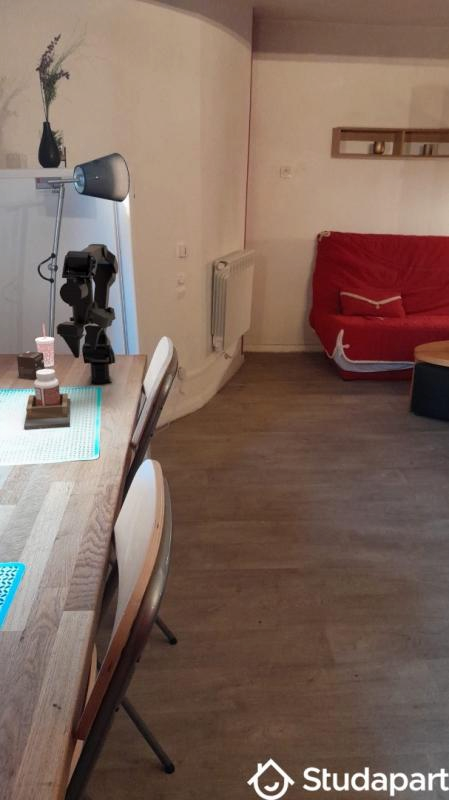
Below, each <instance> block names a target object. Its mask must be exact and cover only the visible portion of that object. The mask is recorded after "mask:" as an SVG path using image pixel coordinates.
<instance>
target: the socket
mask: <svg viewBox="0 0 449 800" xmlns="http://www.w3.org/2000/svg"><path fill="white" fill-rule="evenodd" d="M68 395H69V393H67V392H66V393H60V403H61V405H55V406H36V397H35V394H33V395H31V394H29V395H28V400H27V403H26V409H25V410H26V414H25V419H24V425H23V430H24V429H25V430H24V431H26V430H39V428H42V429H55V428H67V427H68V428H70V427H71V398H69V396H68Z"/></svg>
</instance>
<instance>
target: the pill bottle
mask: <svg viewBox="0 0 449 800" xmlns="http://www.w3.org/2000/svg"><path fill="white" fill-rule="evenodd" d="M36 376H37V378H38V379H36V380H34V383H33V387H34V395H35V397H36V406H55V405H61V403H60V394H61V393H60V392H61V391H60V383H59V379H57V378H56V371H55V369H53V368H45V369H42V370H38V371H37V372H36Z"/></svg>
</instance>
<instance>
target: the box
mask: <svg viewBox="0 0 449 800" xmlns="http://www.w3.org/2000/svg"><path fill="white" fill-rule="evenodd" d="M16 361H17V371H18V378H19V379H24V380H25V379H26V380H34V381H36V380H37V379H38V378H37V376H36V372H37V371H38V370H42V369H46V367H44V357H43V353H40V352H38V351H25V352H23V353H20V354H18V355H16Z"/></svg>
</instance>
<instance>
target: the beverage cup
mask: <svg viewBox="0 0 449 800" xmlns="http://www.w3.org/2000/svg"><path fill="white" fill-rule="evenodd" d="M42 330H43V336H39V337H37V338H35V343H36V348H37V352H40V353H43V357H44V367H45V368H47V367H53V366H54V365H55V347H54V346H55V345H54V343H55V338H54V336H53V337H52V336H46V330H45V323H43V324H42Z"/></svg>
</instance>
